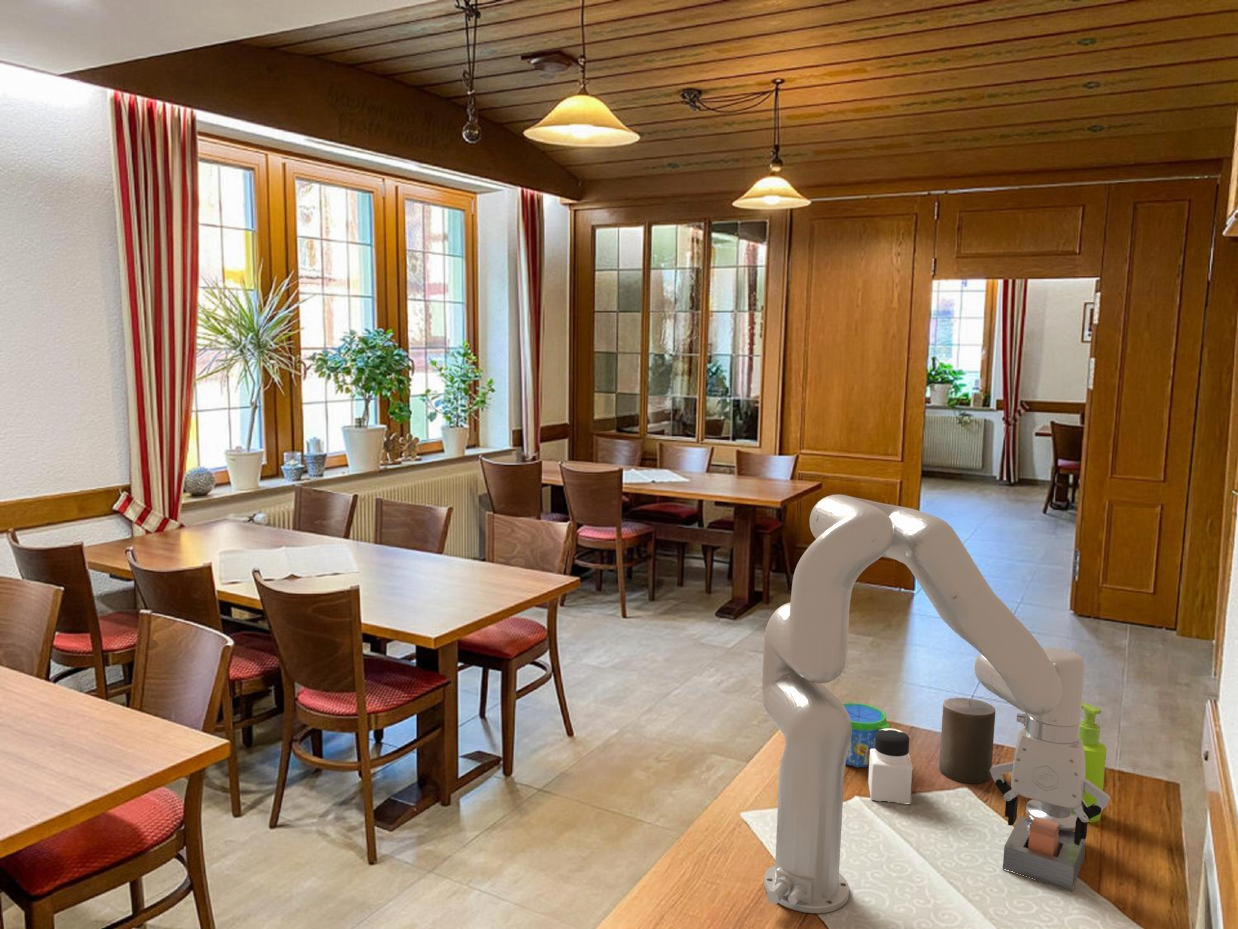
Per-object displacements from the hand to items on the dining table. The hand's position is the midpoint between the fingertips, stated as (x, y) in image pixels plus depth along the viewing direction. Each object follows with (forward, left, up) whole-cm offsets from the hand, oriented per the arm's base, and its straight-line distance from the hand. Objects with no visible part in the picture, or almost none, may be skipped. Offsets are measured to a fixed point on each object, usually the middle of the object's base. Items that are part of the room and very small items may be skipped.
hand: (1044, 831), depth 143 cm
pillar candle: (+28, +19, -6) cm, 34 cm away
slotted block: (+5, 0, -6) cm, 8 cm away
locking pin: (0, 0, -6) cm, 6 cm away
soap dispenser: (+24, -2, -6) cm, 25 cm away
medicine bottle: (+10, +28, -6) cm, 30 cm away
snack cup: (+20, +38, -6) cm, 43 cm away
